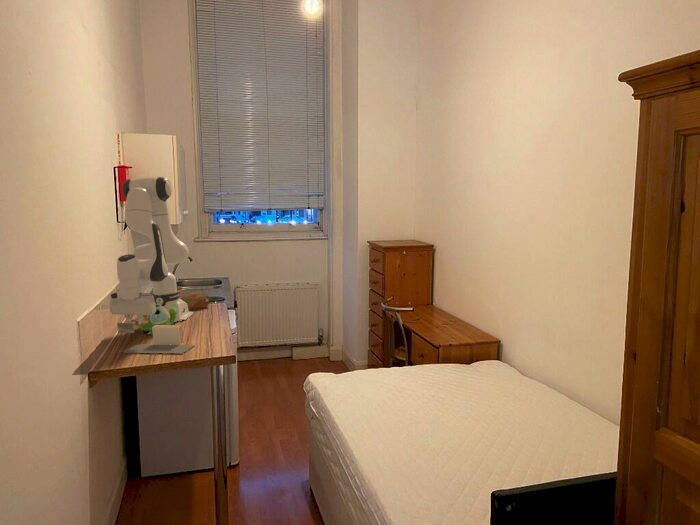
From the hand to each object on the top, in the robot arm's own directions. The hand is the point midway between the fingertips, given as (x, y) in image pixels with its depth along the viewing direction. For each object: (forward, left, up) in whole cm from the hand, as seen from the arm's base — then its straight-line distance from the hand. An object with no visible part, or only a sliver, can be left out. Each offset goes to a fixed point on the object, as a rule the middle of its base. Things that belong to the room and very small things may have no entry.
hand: (134, 324), depth 227 cm
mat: (+11, +17, -8) cm, 22 cm away
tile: (+4, +17, -8) cm, 19 cm away
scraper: (-1, 0, -2) cm, 2 cm away
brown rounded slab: (-60, -3, -8) cm, 61 cm away
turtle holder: (-17, 0, -8) cm, 19 cm away
